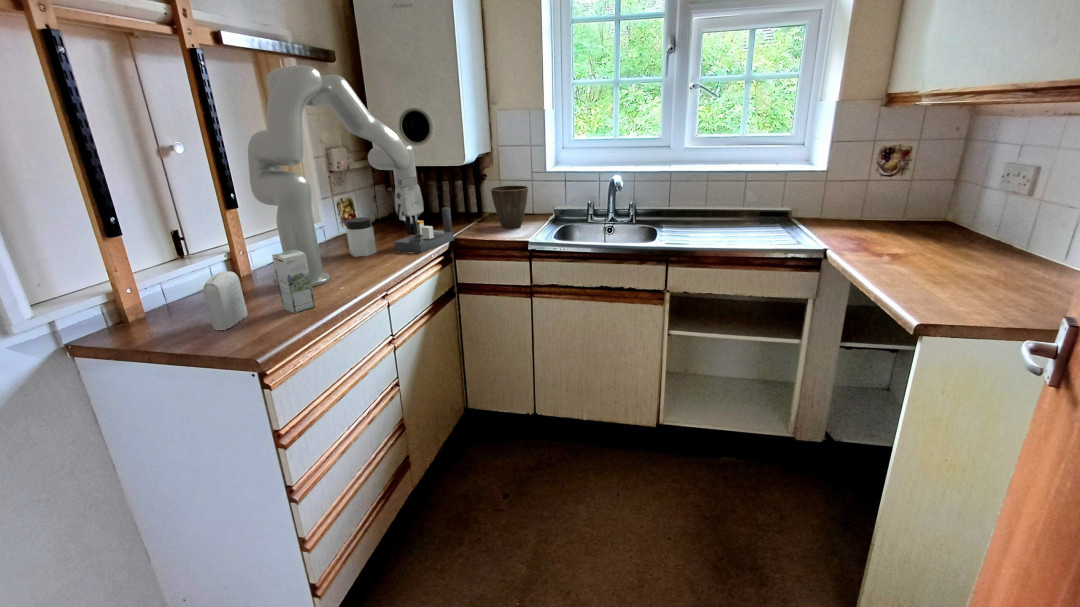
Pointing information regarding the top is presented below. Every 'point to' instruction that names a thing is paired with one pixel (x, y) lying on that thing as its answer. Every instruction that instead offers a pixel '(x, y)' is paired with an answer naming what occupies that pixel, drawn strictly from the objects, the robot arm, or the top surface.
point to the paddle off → (427, 232)
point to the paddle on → (419, 227)
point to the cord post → (447, 219)
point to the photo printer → (224, 300)
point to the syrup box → (294, 281)
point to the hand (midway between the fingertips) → (412, 234)
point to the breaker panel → (423, 242)
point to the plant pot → (510, 205)
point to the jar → (360, 237)
